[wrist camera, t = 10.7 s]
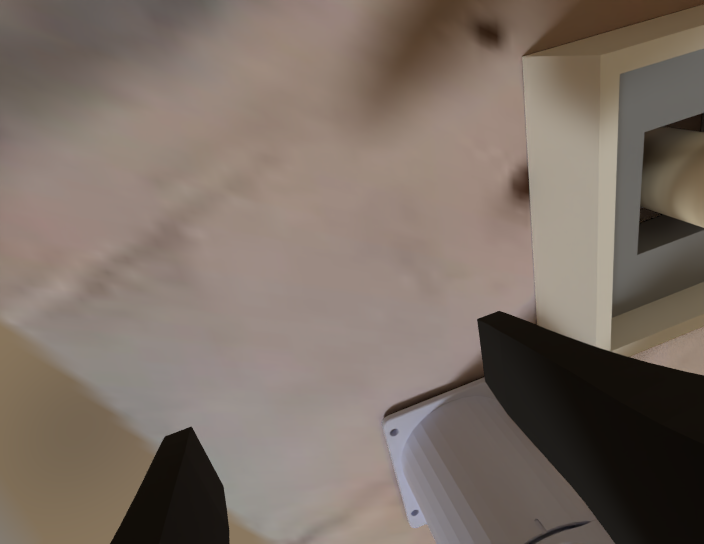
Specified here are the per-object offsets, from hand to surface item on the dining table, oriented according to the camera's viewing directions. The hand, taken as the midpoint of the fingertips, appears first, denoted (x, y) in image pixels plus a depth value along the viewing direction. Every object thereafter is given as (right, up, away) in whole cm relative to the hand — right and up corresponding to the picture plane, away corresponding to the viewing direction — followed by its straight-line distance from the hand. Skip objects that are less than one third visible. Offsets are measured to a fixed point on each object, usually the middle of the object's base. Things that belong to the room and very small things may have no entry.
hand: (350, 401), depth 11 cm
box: (+15, +8, +13) cm, 22 cm away
